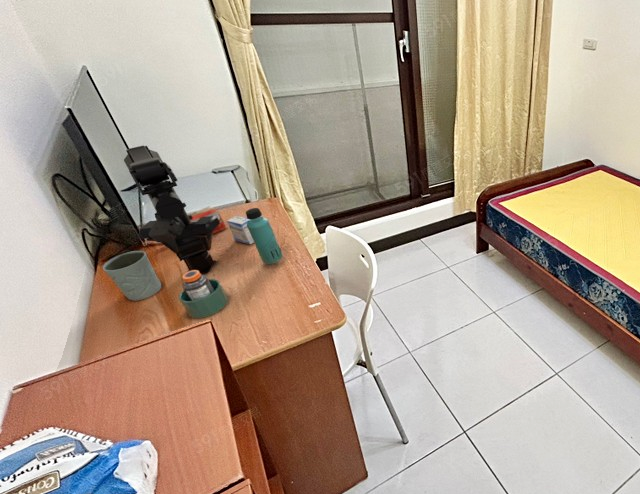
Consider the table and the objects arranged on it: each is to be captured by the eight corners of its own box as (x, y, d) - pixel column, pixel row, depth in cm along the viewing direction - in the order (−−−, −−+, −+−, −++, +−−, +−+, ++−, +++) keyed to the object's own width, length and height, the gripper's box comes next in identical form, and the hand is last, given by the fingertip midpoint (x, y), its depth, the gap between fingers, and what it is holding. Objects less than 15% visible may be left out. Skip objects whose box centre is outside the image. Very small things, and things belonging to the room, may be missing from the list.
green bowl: (181, 319, 113) (171, 303, 109) (200, 296, 121) (191, 280, 118) (218, 316, 113) (209, 300, 110) (234, 293, 122) (226, 277, 118)
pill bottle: (202, 298, 119) (185, 268, 113) (223, 296, 119) (207, 266, 113) (191, 312, 114) (172, 281, 108) (213, 310, 114) (195, 279, 108)
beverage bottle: (276, 268, 131) (254, 216, 121) (259, 266, 133) (235, 214, 122) (289, 257, 137) (268, 205, 126) (272, 255, 138) (250, 204, 127)
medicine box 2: (235, 241, 147) (225, 221, 142) (245, 235, 150) (236, 215, 146) (250, 245, 144) (241, 224, 140) (260, 238, 148) (252, 218, 143)
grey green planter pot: (132, 306, 118) (109, 274, 112) (118, 295, 123) (96, 264, 116) (170, 287, 125) (151, 256, 119) (156, 277, 130) (137, 246, 124)
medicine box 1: (218, 222, 159) (209, 205, 155) (227, 228, 155) (218, 210, 150) (175, 240, 149) (164, 221, 145) (182, 247, 145) (172, 228, 140)
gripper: (111, 222, 103) (142, 270, 111) (187, 216, 104) (212, 264, 112) (139, 202, 112) (166, 248, 120) (209, 197, 113) (231, 243, 121)
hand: (193, 251), depth 118 cm, fingers open, 9 cm apart
